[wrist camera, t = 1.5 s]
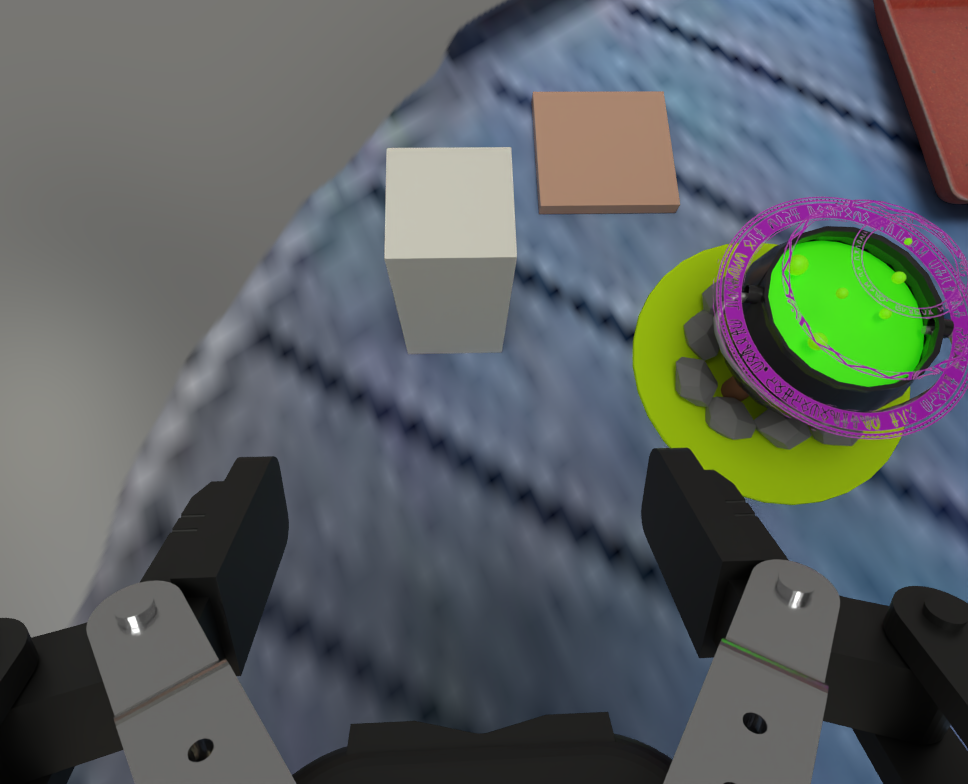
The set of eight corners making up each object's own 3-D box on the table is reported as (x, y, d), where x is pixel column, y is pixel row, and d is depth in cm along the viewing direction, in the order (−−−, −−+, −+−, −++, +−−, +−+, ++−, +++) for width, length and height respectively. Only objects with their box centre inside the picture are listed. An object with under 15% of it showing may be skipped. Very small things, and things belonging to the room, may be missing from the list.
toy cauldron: (615, 475, 31) (692, 420, 20) (645, 224, 35) (721, 72, 25) (911, 531, 31) (1144, 503, 20) (903, 269, 35) (1091, 135, 25)
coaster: (659, 101, 38) (663, 91, 37) (675, 212, 36) (679, 204, 35) (531, 101, 38) (533, 91, 37) (539, 214, 35) (540, 205, 34)
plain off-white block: (498, 266, 34) (510, 144, 25) (501, 352, 33) (516, 257, 23) (408, 267, 34) (387, 145, 24) (408, 354, 32) (384, 258, 23)
